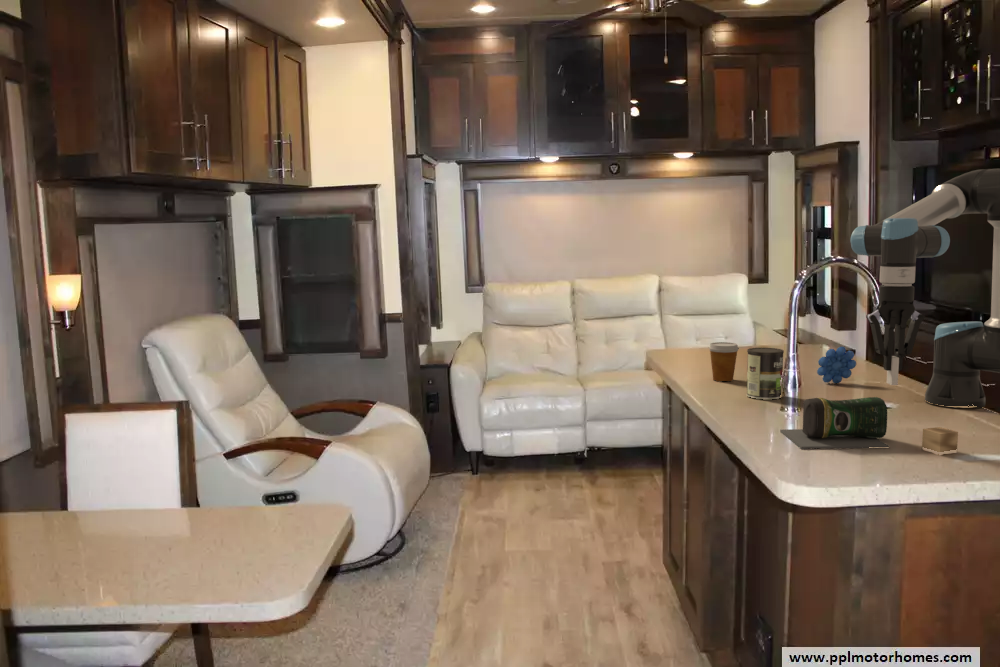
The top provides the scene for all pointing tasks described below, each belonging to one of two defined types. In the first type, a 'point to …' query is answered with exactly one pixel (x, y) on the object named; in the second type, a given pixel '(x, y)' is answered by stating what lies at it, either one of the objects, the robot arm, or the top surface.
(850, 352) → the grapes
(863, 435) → the coffee jar
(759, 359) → the coffee can
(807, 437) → the mat
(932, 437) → the oak block
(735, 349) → the disposable coffee cup
